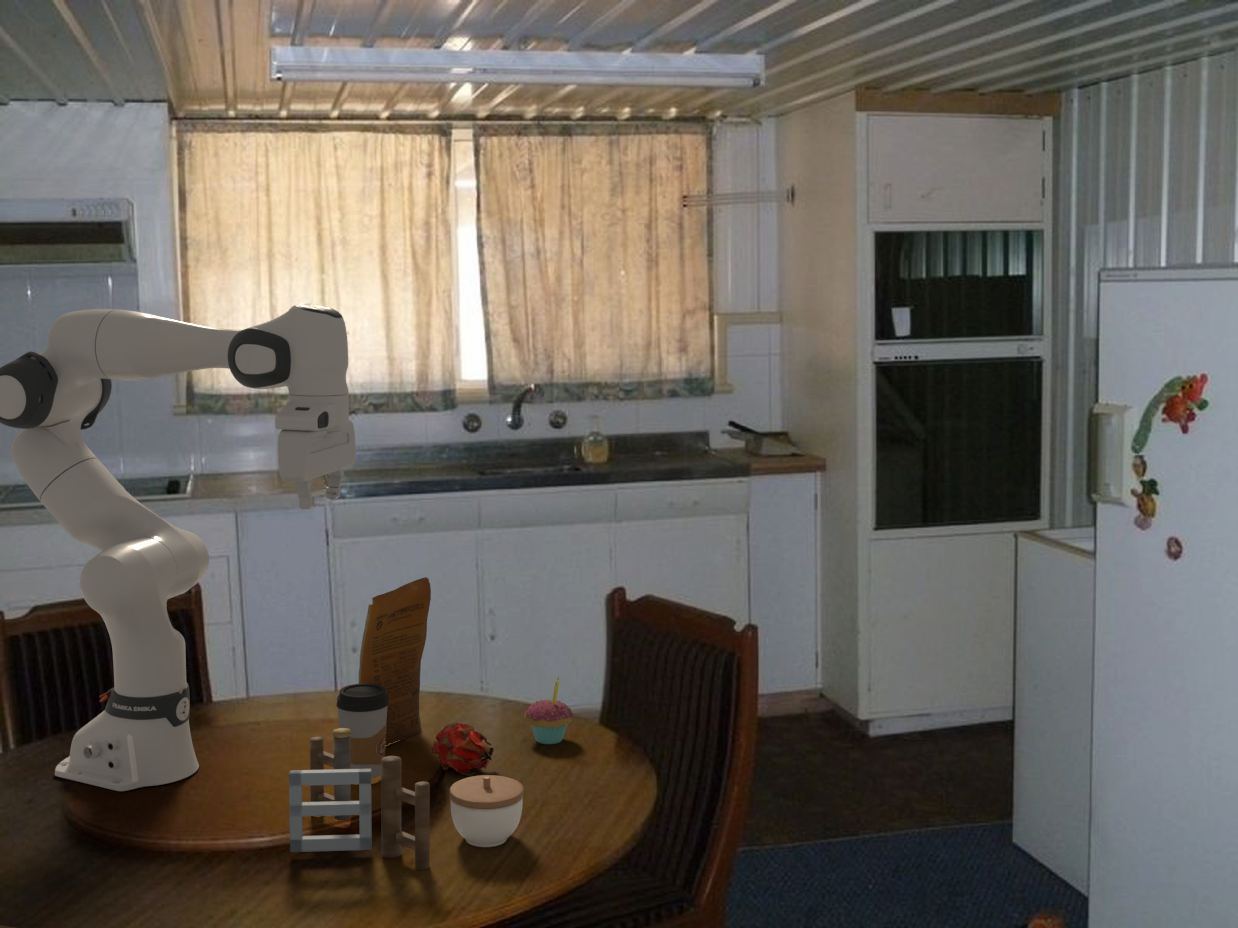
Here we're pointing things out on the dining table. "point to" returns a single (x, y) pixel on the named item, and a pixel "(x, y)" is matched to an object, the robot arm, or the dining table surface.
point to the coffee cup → (364, 724)
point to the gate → (330, 809)
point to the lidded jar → (486, 808)
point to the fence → (389, 798)
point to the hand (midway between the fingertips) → (320, 503)
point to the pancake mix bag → (397, 653)
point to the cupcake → (549, 719)
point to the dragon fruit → (462, 748)
